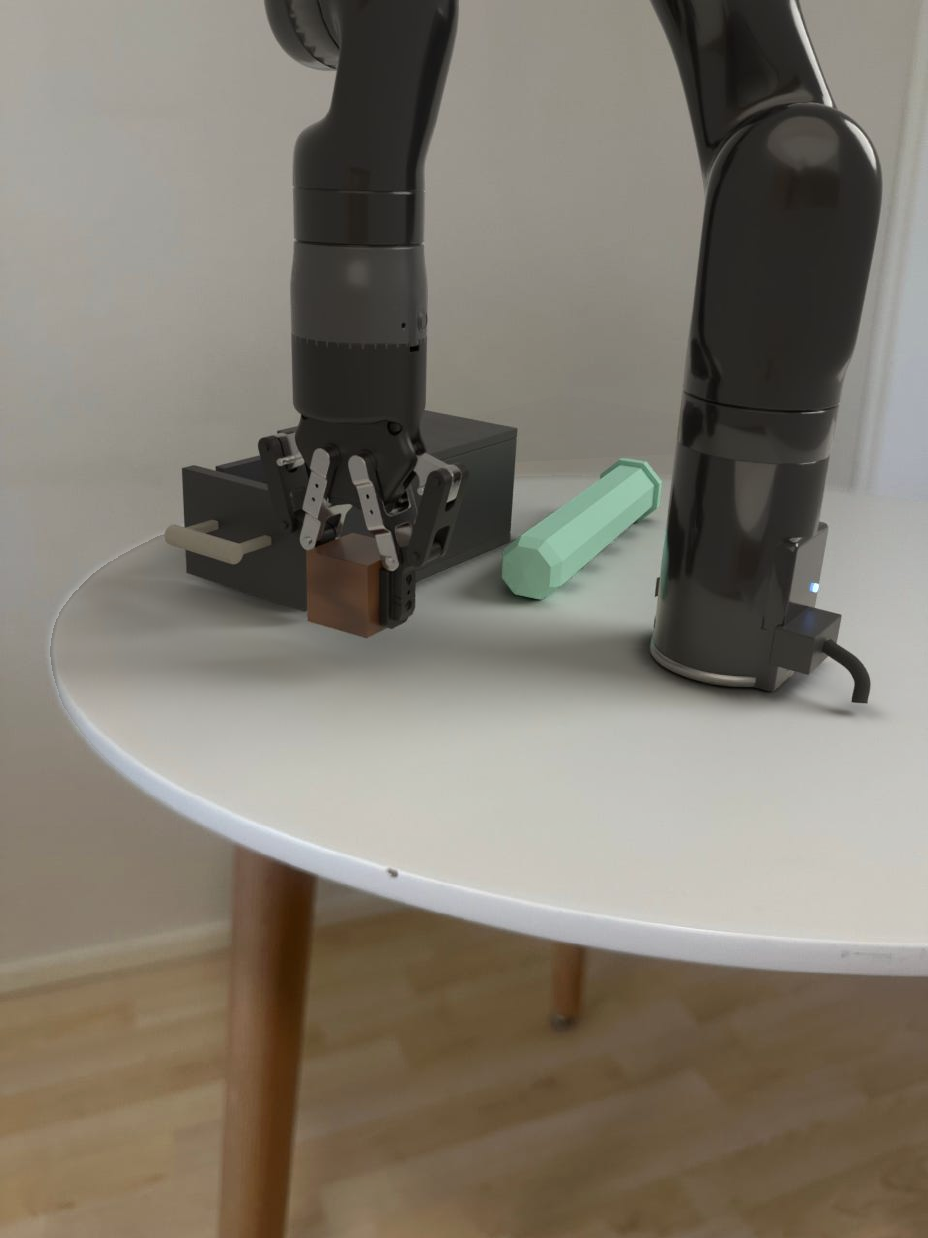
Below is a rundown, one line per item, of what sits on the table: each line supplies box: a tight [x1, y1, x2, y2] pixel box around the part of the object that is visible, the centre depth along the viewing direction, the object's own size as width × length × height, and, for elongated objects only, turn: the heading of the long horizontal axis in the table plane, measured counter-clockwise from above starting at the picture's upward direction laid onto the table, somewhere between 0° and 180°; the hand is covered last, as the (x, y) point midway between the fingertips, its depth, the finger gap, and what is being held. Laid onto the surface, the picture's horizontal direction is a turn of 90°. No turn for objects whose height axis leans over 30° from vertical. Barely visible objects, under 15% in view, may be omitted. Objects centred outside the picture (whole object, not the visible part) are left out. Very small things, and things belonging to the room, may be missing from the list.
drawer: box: [164, 454, 394, 613], centre depth 82 cm, size 18×11×8 cm, turn 145°
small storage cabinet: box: [276, 409, 519, 582], centre depth 92 cm, size 15×13×10 cm
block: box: [306, 533, 411, 639], centre depth 69 cm, size 4×4×4 cm
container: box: [501, 457, 663, 601], centre depth 93 cm, size 6×6×25 cm
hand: (360, 613), depth 70 cm, fingers closed on block, 4 cm apart
